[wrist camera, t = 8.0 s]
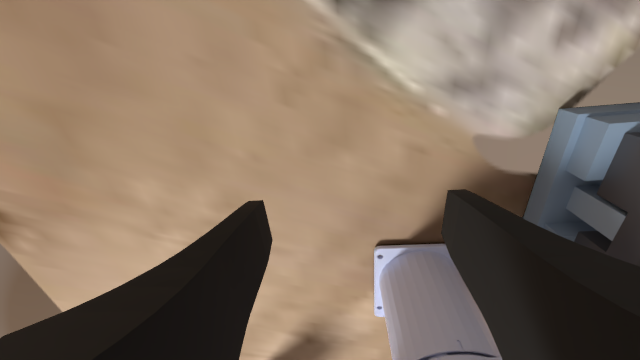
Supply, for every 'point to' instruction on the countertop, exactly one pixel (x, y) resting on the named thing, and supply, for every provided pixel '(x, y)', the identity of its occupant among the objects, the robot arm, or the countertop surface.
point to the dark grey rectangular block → (621, 203)
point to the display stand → (580, 170)
